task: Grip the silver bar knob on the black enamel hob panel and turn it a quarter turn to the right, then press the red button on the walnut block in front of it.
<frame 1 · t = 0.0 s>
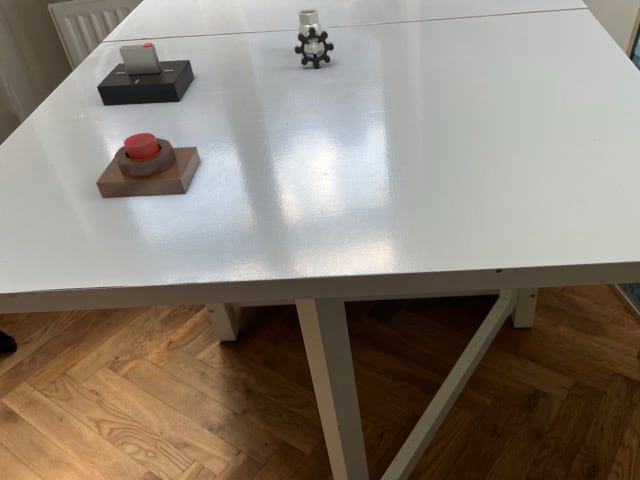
button block: (154, 179, 69), on the table
hob knob: (140, 58, 87), point 5 cm above the table, hinge at 0.0°
hob panel: (151, 91, 91), on the table
valve: (314, 58, 99), on the table
start button: (141, 146, 66), point 5 cm above the table, slide at 0.2 cm
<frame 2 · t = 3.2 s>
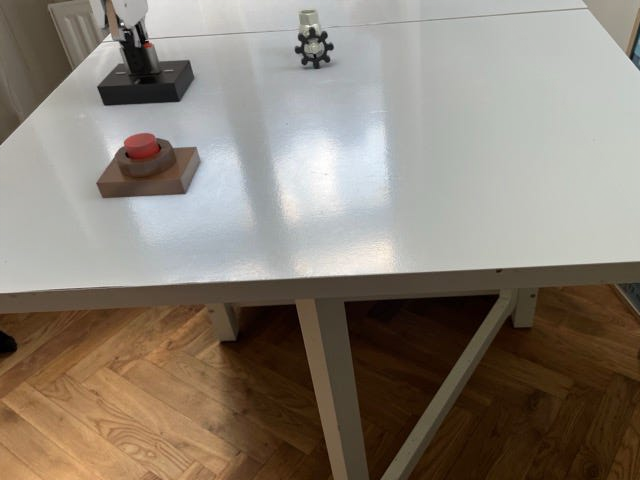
hand: (143, 69, 88), 4 cm above the table, tool pointing down, fingers closed on hob knob
hob knob: (140, 58, 87), point 5 cm above the table, hinge at 0.0°, touching gripper
everything else where it was.
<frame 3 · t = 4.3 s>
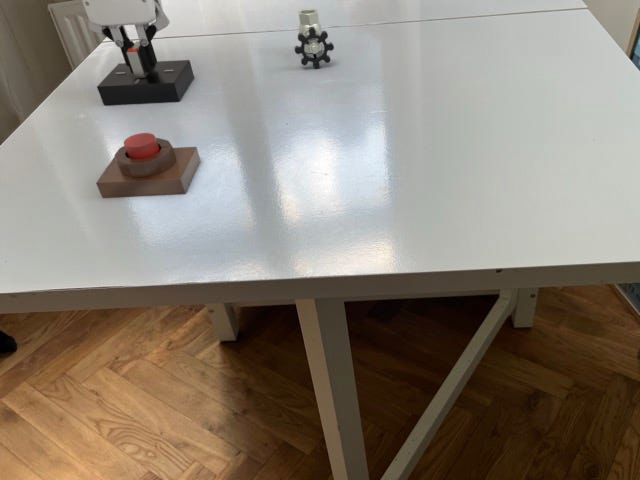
hand: (143, 69, 88), 4 cm above the table, tool pointing down, fingers closed, pressing on hob knob
hob knob: (140, 58, 87), point 5 cm above the table, hinge at -89.4°, touching gripper
everything else where it was.
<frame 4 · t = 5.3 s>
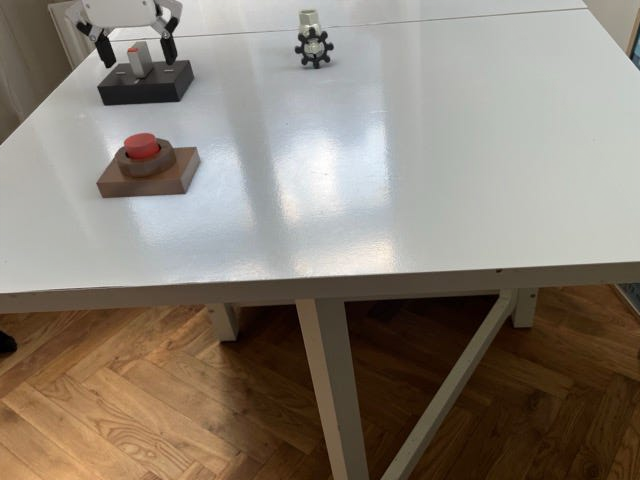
hand: (141, 63, 88), 4 cm above the table, tool pointing down, fingers open, 9 cm apart
hob knob: (140, 58, 87), point 5 cm above the table, hinge at -89.2°
everything else where it was.
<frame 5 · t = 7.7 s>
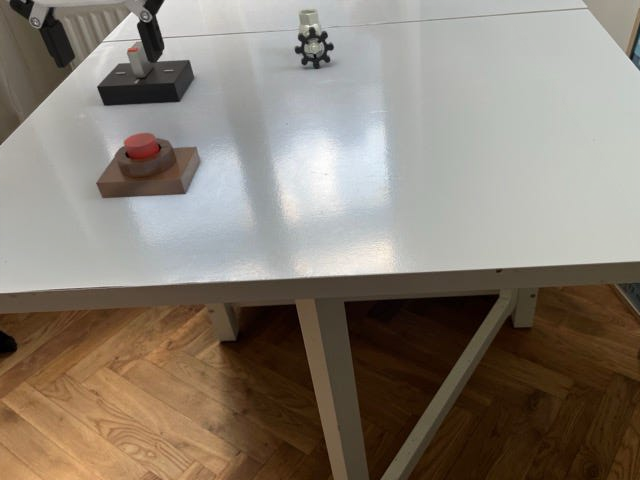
hand: (111, 60, 60), 14 cm above the table, tool pointing down, fingers open, 9 cm apart
nothing on the table moved.
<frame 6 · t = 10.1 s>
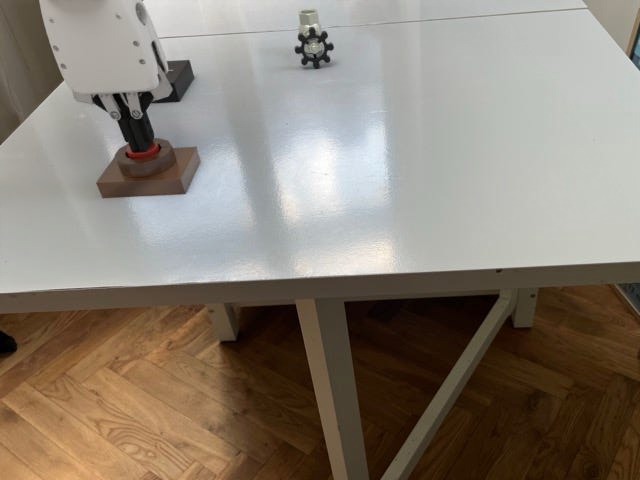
hand: (143, 146, 66), 5 cm above the table, tool pointing down, fingers closed
start button: (144, 153, 67), point 4 cm above the table, slide at -0.7 cm, touching gripper
everything else where it was.
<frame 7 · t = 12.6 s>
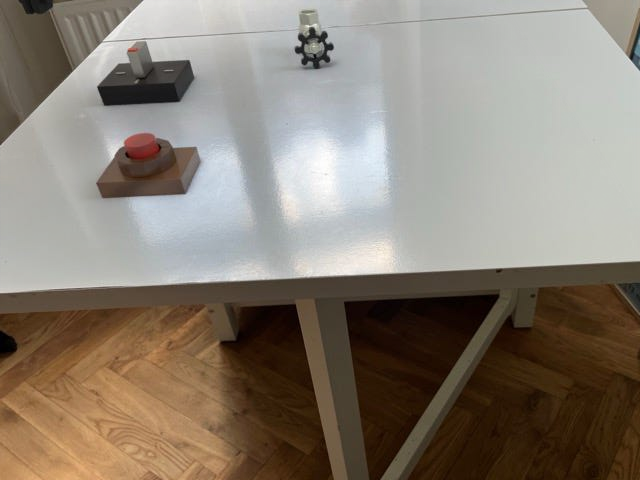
hand: (40, 10, 61), 19 cm above the table, tool pointing down, fingers closed
start button: (141, 146, 66), point 5 cm above the table, slide at 0.1 cm
everything else where it was.
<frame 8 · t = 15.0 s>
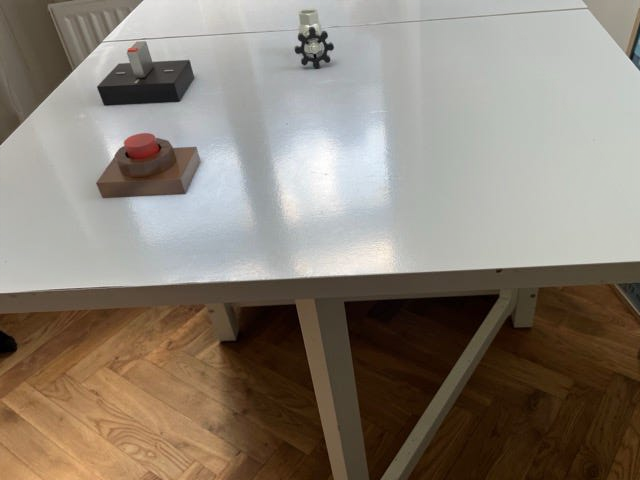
nothing on the table moved.
at the end: hob knob at -89° (first picture: +0°); start button pushed in 1.1 cm at the most during the clip, back to where it started at the end; start button slide at 0.1 cm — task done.
